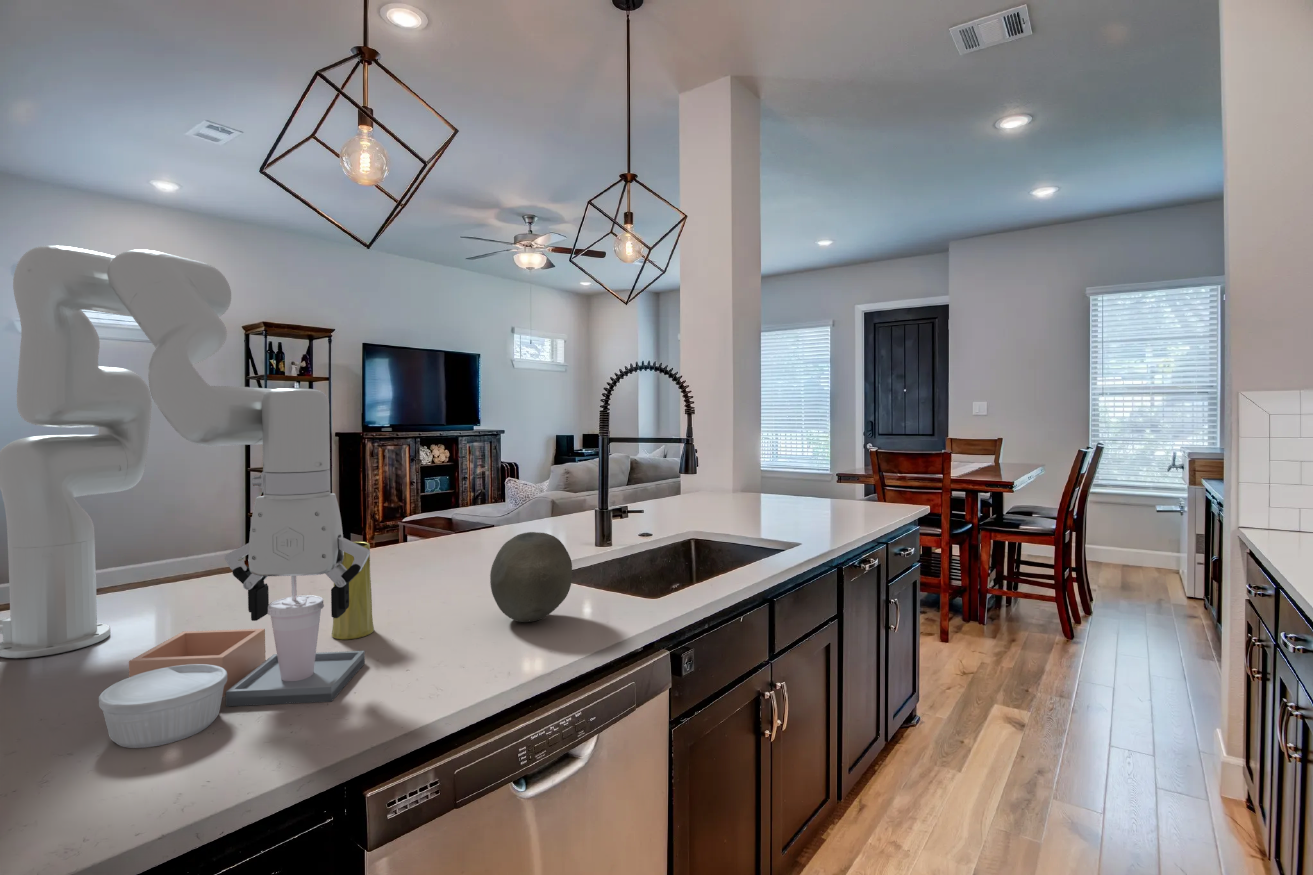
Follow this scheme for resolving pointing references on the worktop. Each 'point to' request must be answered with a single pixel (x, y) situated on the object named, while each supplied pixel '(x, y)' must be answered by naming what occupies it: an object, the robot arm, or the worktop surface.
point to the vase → (356, 603)
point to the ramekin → (163, 704)
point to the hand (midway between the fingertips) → (299, 616)
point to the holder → (207, 652)
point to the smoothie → (296, 633)
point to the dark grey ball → (531, 576)
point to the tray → (319, 687)
